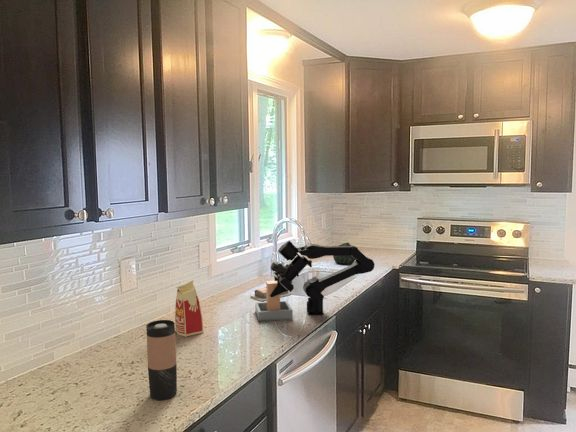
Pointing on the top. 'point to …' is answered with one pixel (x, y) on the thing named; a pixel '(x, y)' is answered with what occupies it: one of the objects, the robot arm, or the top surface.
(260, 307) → the tray
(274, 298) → the peach block
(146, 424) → the top surface
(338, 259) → the squash
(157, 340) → the travel mug
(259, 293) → the packaged product
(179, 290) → the red food bag
